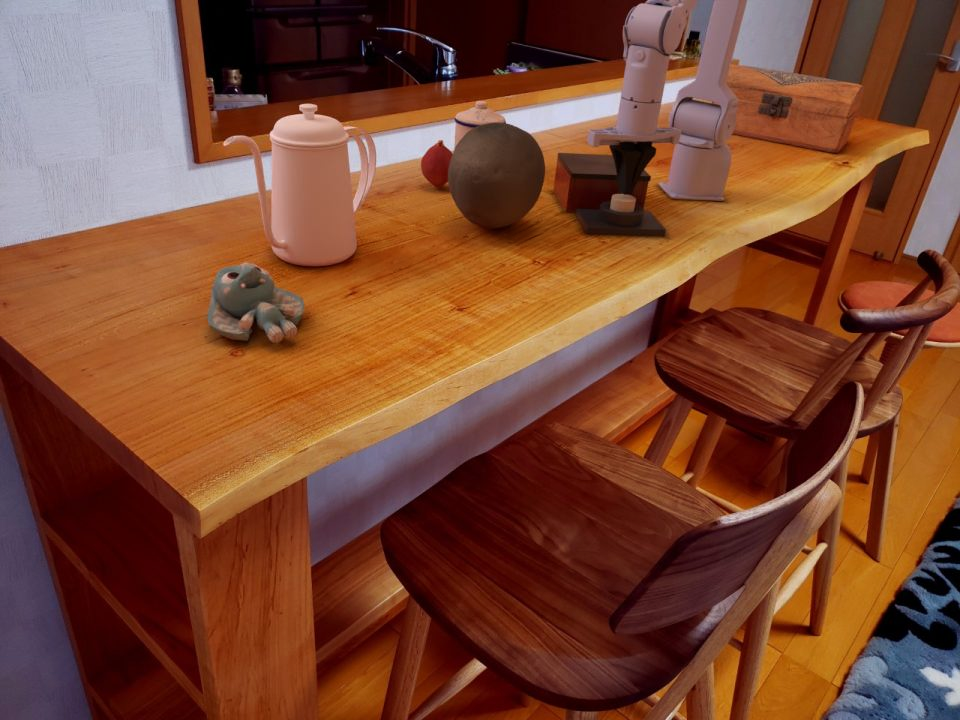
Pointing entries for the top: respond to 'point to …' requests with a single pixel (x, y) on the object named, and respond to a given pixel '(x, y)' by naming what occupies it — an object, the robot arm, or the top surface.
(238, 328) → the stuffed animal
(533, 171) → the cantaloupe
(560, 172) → the reddish-brown open box
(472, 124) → the teacup with lid
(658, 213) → the top surface
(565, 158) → the box lid
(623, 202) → the button
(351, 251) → the coffeepot
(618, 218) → the switch block
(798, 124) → the wooden box
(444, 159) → the onion
